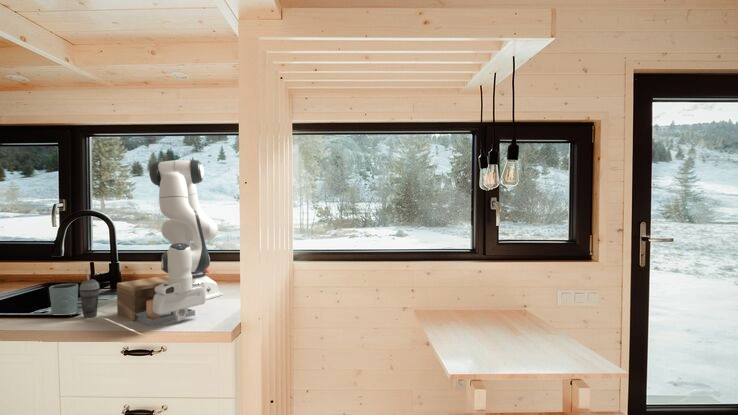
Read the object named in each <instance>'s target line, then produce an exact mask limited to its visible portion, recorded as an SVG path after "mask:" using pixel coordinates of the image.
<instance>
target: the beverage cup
mask: <svg viewBox="0 0 738 415" xmlns="http://www.w3.org/2000/svg"><path fill="white" fill-rule="evenodd" d="M85 271H86V280H84V281H82V282H81V283H80V286H79V288H78V292H79V295H80V301H81V309H82V310H81V311H82V316H83V319H92V318H96V317H97V315H98V307H99V306H98V305H99V304H98V303H99V294H100V289H101V287H100V283H99V282H98V281H97V280H96V279H93V278H89V271H88V268H86V269H85Z"/></svg>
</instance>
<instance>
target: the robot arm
mask: <svg viewBox="0 0 738 415" xmlns="http://www.w3.org/2000/svg"><path fill="white" fill-rule="evenodd" d="M148 174H149V175H148V176H149V178H150V181H151V183H152V184H153V185H155V186H158V188H159V189H158V190H159V192H158V202H159V210H160V212H161V214H162V216H164V217H165V218H167V219H166V220H165V221H164V222H163V223H162V226H161V228H160V229H161V235H162V236H163V238H164V239H165V240H167V241H168V242H169V243H170V245H169V247H168V250H166V251H165V252H164V253H163V254H162V255H161V256H160V257H161V258H160V260H161V270H162V271H163V272H164V273H166V274H167V275H168V281H167V282H165V283H163V284H161V285H159V286H157V287H155V292H156V294H155V296H154V298H153V312H154V313H156V314H163V313H167V312H172V311H173V313H174V315H175V316H176V320H175V321H176V322H179V321H185V320H186V318H185V315H186V313H187V311H188V308H189V309H190V308H193V307H194V308H195V307H197V306H202V305H205V304H206V301H207V300H210V299H213V298H217V297H220V296H224V292H223V291H222V290H219V287H218V283H217V282H216V281H215V280H213V279H212V278H211V277H209V276H207V275H206V274H210V272H211V270H210V269H208V268H209V266H211V264H210V263H211V258H210V255H209V252H208V248H207V245H206V241H210V240H214V239H215V237H217V234H218V231H219V228H218V224H217V223H216V221H215V220H214V219H212V218H210V216H208V215H207V214H205V212H204V211H203V209H202V206H201V205H200V201H199V195H198V189H197V188H198V187H197V184H199V183H201V182H202V181H203V180H204V177H205V168H204V166H203V164H202V162H201V161H199V160H196V159H191V160H188V159H175V160H165V161H160V160H159V161H155V162H152V164H150V167H149V171H148ZM191 242H193V245H194V246H193V245H192V243H191ZM181 309H182V310H183V312H182V314H181V315H179V314H178V313H179V310H181Z"/></svg>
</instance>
